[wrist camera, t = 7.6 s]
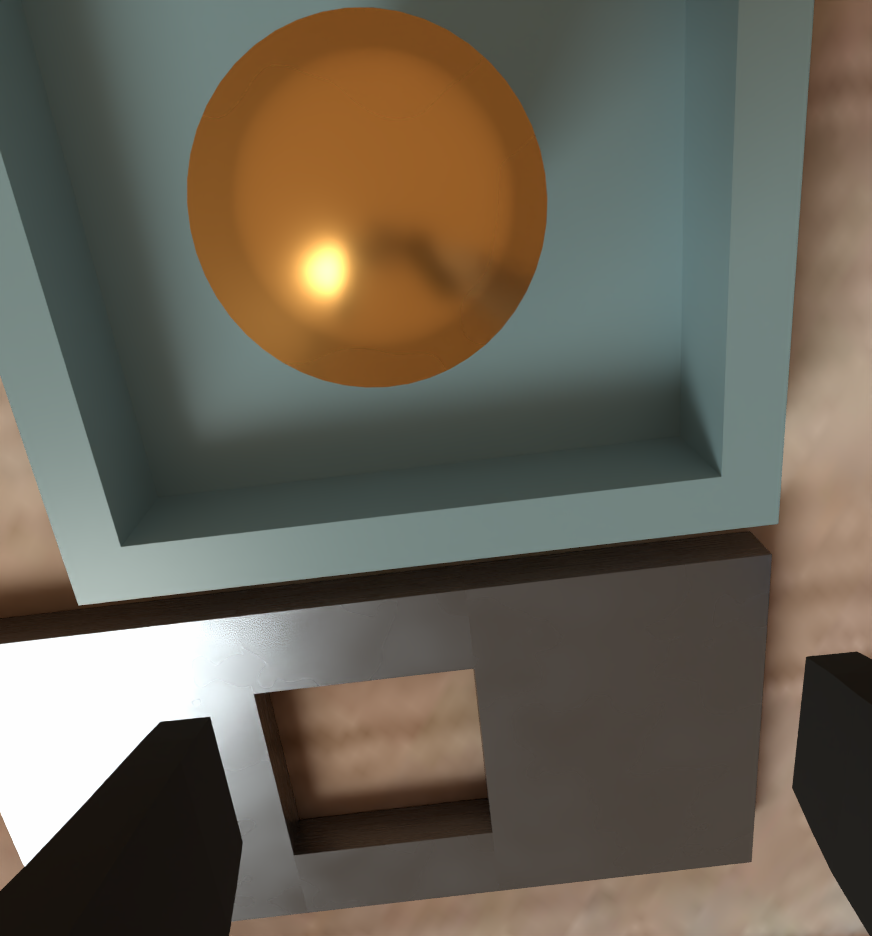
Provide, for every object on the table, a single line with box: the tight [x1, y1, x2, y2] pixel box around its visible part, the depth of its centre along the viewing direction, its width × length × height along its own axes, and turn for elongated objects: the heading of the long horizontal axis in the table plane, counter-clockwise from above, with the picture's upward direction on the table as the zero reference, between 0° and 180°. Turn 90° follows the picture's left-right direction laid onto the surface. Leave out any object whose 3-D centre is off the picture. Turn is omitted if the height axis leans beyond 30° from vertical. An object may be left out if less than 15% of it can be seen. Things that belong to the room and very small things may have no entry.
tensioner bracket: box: [0, 531, 772, 921], centre depth 20 cm, size 20×10×1 cm, turn 96°
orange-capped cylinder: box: [187, 7, 547, 388], centre depth 12 cm, size 4×4×7 cm
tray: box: [0, 0, 814, 605], centre depth 14 cm, size 14×14×3 cm
